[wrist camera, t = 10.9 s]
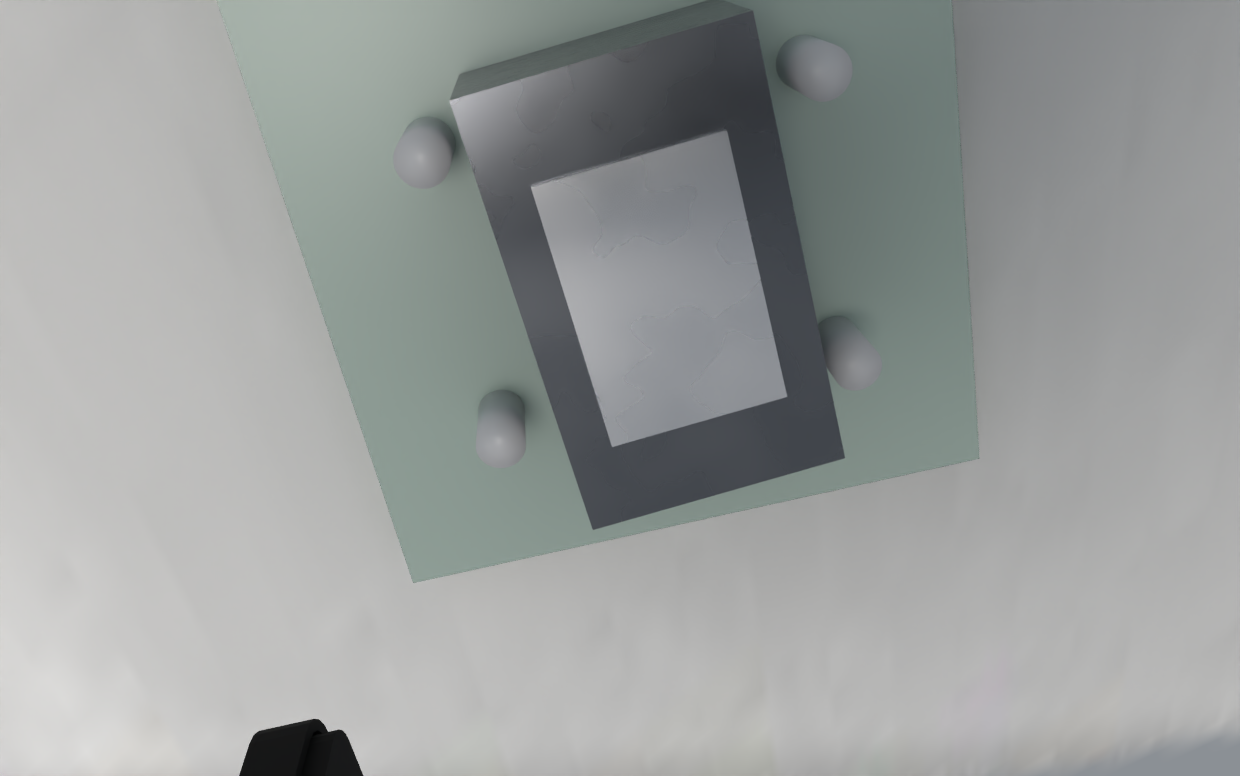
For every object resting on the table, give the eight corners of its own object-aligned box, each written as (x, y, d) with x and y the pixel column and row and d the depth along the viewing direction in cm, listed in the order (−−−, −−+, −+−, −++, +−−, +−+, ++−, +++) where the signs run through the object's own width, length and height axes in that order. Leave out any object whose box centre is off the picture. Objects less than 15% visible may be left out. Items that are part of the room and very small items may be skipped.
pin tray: (920, -184, 23) (978, -200, 20) (962, 439, 30) (1010, 494, 27) (221, -32, 23) (179, -27, 20) (416, 558, 30) (406, 627, 27)
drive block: (715, -3, 23) (754, 10, 20) (801, 388, 27) (847, 461, 24) (459, 73, 24) (449, 102, 20) (582, 450, 28) (593, 533, 24)
